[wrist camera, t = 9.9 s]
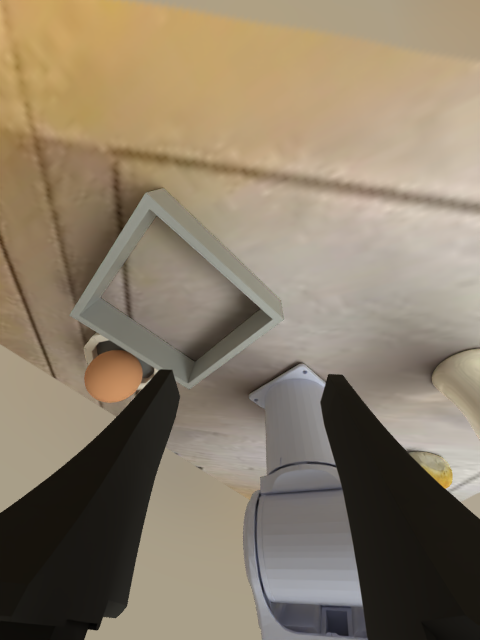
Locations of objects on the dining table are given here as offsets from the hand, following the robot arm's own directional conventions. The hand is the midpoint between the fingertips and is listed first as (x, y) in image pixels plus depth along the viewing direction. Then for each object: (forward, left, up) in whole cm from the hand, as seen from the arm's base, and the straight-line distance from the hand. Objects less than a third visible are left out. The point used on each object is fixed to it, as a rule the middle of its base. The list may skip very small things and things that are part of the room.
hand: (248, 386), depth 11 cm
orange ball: (+4, +15, -8) cm, 17 cm away
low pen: (+4, +5, -10) cm, 12 cm away
